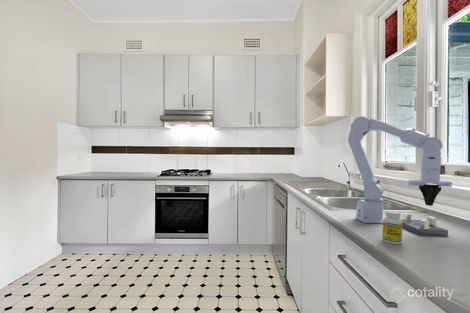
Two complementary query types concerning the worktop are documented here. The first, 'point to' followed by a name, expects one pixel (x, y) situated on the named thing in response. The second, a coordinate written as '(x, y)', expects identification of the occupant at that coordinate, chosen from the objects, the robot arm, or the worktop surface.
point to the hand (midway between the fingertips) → (428, 205)
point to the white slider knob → (431, 220)
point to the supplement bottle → (392, 228)
